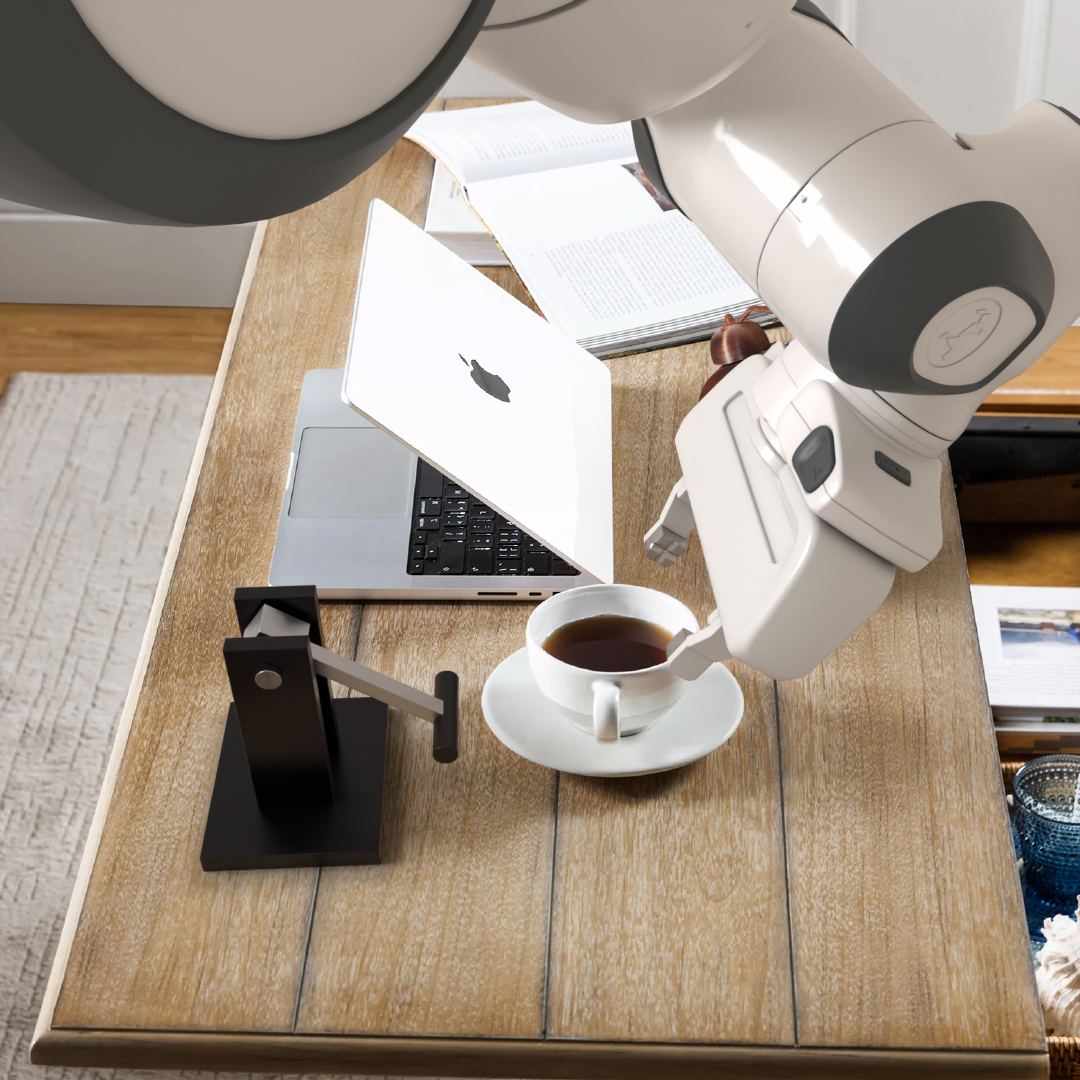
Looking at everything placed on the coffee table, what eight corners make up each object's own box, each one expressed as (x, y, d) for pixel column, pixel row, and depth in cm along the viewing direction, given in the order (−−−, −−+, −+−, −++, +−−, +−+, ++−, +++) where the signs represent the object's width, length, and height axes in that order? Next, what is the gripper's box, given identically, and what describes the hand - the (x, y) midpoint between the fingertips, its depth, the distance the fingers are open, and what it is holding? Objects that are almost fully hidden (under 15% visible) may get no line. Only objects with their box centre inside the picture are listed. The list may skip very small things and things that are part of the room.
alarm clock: (837, 492, 99) (868, 321, 90) (806, 522, 96) (834, 349, 87) (719, 441, 104) (736, 276, 95) (686, 468, 101) (700, 300, 92)
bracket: (390, 708, 82) (370, 542, 73) (380, 864, 72) (356, 694, 64) (233, 714, 81) (194, 548, 73) (203, 871, 72) (154, 702, 63)
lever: (446, 695, 77) (468, 671, 76) (444, 772, 72) (468, 748, 71) (248, 607, 72) (268, 580, 70) (233, 684, 67) (254, 656, 66)
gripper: (754, 294, 69) (600, 474, 75) (847, 507, 52) (638, 716, 58) (839, 353, 71) (683, 522, 77) (954, 575, 54) (742, 768, 61)
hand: (664, 607), depth 68 cm, fingers open, 8 cm apart
